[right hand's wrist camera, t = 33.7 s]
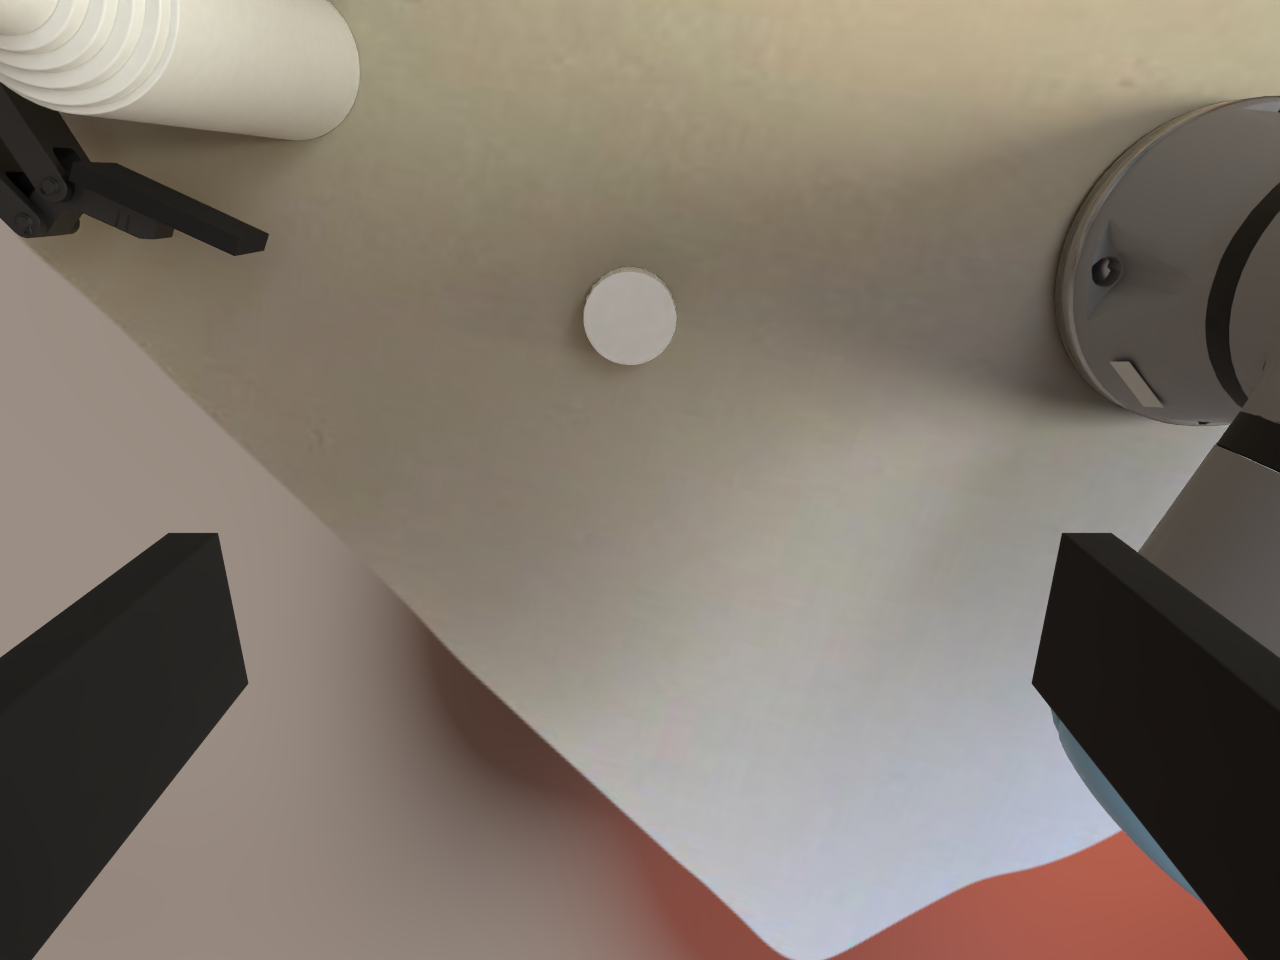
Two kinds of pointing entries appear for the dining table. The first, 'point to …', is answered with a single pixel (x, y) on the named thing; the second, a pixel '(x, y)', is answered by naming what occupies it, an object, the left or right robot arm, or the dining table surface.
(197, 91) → the bottle
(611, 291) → the cap
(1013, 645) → the dining table surface
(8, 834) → the right robot arm
